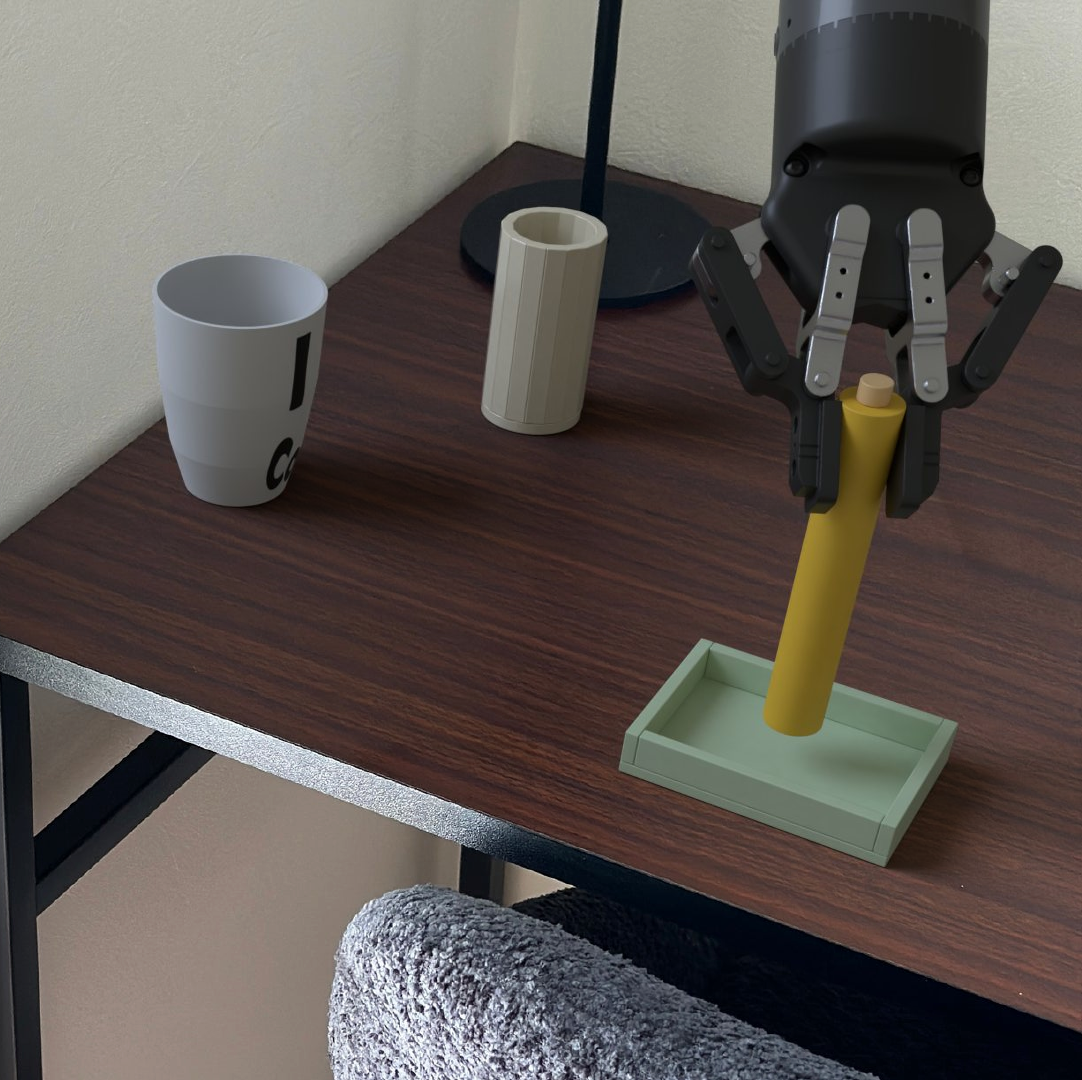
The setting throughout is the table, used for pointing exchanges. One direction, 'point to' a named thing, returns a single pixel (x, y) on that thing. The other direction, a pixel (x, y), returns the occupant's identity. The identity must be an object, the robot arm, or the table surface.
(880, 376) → the pencil
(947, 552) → the table surface
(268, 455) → the cup
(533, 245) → the pencil holder
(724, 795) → the tray
